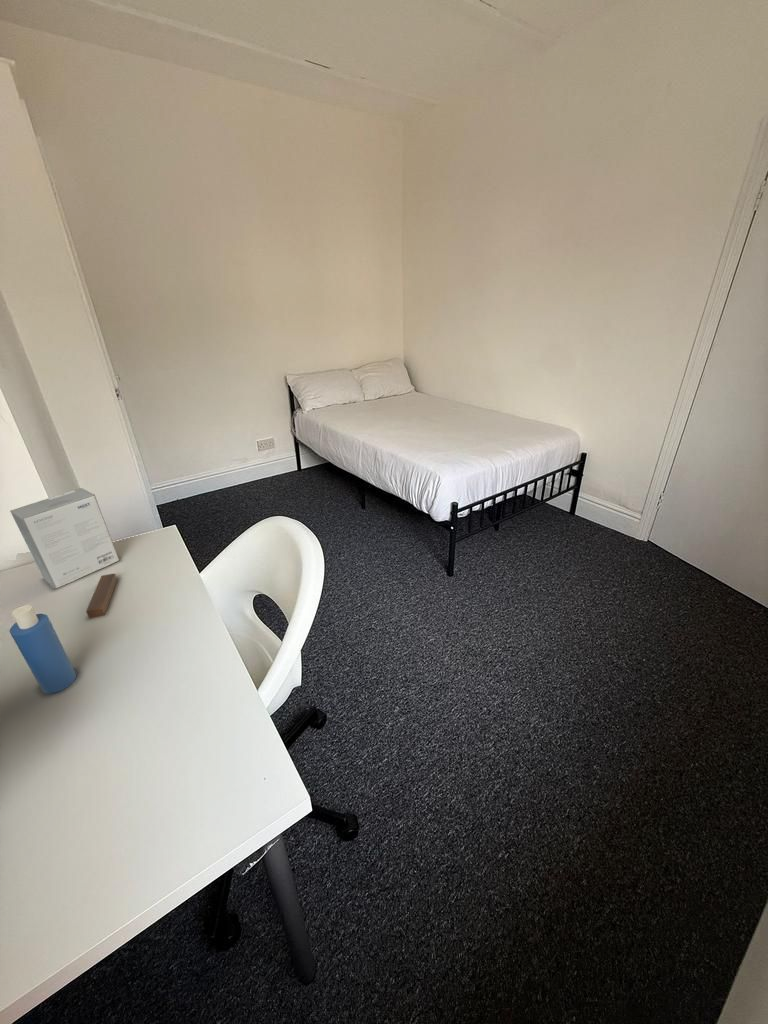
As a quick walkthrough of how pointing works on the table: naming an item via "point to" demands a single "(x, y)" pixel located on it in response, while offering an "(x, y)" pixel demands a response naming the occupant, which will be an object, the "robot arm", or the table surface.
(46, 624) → the blue bottle
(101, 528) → the hard drive box
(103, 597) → the walnut bar
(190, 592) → the table surface
